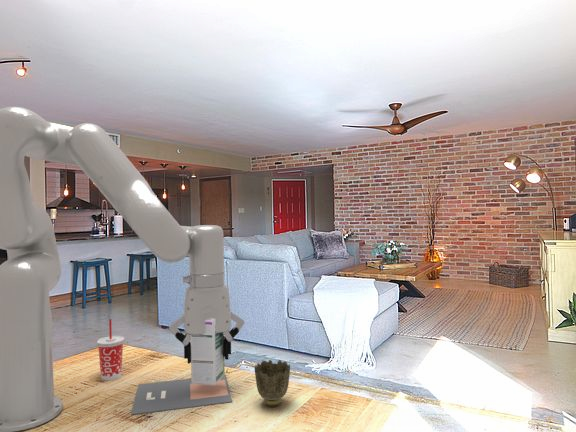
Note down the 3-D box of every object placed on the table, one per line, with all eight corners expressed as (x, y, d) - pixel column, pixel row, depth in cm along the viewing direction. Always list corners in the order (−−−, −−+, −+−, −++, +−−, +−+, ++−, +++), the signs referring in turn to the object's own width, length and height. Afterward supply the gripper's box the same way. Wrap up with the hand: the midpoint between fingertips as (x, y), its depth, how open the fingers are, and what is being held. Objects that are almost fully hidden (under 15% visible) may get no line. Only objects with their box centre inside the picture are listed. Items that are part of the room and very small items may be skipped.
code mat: (130, 414, 81) (130, 413, 81) (138, 385, 94) (138, 384, 94) (232, 402, 86) (232, 401, 86) (225, 375, 99) (225, 374, 99)
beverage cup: (92, 381, 97) (90, 322, 96) (106, 370, 103) (105, 315, 102) (116, 382, 96) (115, 323, 96) (129, 371, 102) (128, 316, 102)
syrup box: (215, 386, 88) (215, 319, 87) (190, 383, 89) (189, 317, 89) (224, 375, 93) (224, 312, 93) (200, 373, 95) (200, 311, 94)
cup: (250, 411, 82) (250, 372, 81) (258, 394, 89) (258, 358, 89) (287, 414, 80) (287, 374, 80) (292, 396, 88) (292, 360, 88)
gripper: (165, 286, 85) (166, 370, 85) (248, 281, 89) (249, 361, 90) (166, 279, 92) (167, 357, 93) (243, 276, 96) (244, 350, 97)
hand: (207, 358), depth 91 cm, fingers closed on syrup box, 7 cm apart
